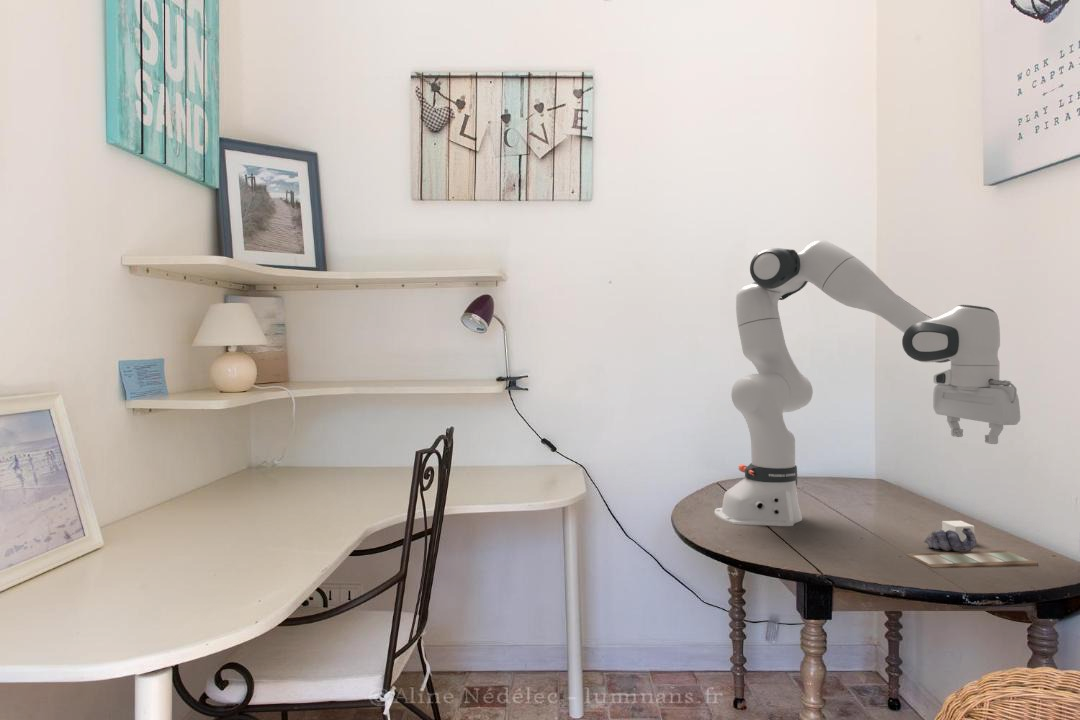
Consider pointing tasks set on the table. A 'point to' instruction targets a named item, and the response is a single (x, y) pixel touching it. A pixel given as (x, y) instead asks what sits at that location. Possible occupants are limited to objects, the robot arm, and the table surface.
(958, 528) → the cream white cube
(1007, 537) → the table surface
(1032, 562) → the brown rectangular frame
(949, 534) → the seashell
